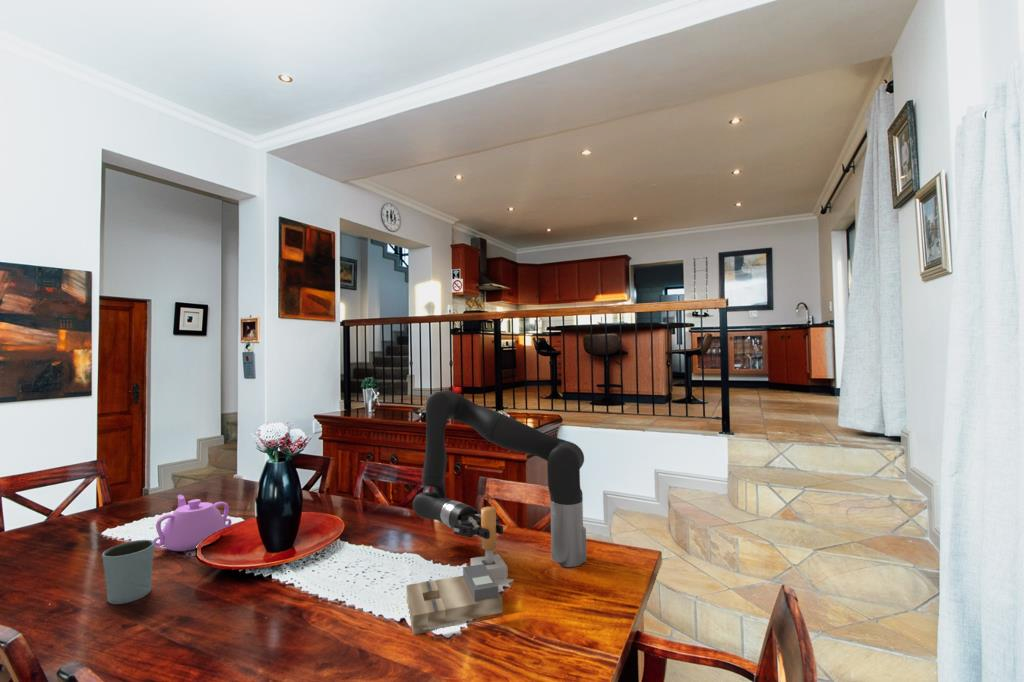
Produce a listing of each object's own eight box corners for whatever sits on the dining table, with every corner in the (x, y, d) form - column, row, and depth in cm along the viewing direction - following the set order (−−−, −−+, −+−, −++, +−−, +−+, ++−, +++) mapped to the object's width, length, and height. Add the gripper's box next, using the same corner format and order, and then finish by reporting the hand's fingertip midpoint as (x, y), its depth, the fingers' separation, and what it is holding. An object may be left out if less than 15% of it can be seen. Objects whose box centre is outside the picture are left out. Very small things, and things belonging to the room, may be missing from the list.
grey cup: (163, 589, 121) (163, 542, 121) (119, 609, 111) (119, 558, 111) (136, 583, 124) (137, 537, 124) (91, 602, 114) (92, 553, 115)
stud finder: (484, 573, 118) (484, 563, 118) (498, 597, 107) (497, 585, 107) (463, 577, 116) (463, 566, 116) (474, 601, 105) (474, 589, 105)
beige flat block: (486, 587, 119) (486, 571, 119) (502, 616, 106) (502, 598, 106) (406, 601, 113) (406, 584, 113) (413, 634, 99) (413, 615, 100)
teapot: (214, 524, 166) (214, 485, 167) (242, 538, 154) (242, 496, 154) (137, 546, 148) (138, 502, 149) (163, 563, 136) (163, 515, 136)
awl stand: (498, 568, 129) (498, 553, 130) (507, 581, 122) (507, 566, 122) (470, 573, 127) (470, 558, 127) (477, 587, 119) (477, 571, 119)
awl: (494, 561, 127) (493, 505, 127) (498, 567, 123) (497, 510, 124) (480, 563, 126) (479, 507, 126) (484, 570, 122) (483, 512, 122)
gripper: (437, 509, 131) (473, 525, 118) (478, 498, 140) (515, 511, 127) (437, 536, 131) (473, 555, 118) (478, 523, 140) (516, 539, 127)
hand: (495, 532), depth 123 cm, fingers closed on awl, 4 cm apart
